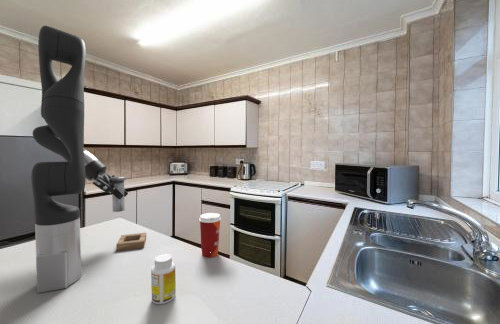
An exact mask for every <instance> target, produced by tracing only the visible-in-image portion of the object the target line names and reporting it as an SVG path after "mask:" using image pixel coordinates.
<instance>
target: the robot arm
mask: <svg viewBox="0 0 500 324" xmlns="http://www.w3.org/2000/svg"><path fill="white" fill-rule="evenodd" d="M38 33H39V34H38V41H37V43H38V44H37V45H38V67H39V76H40V83H41V105H40V107H41V108H40V115H41V118H42V119H43V120H44V121H45V123H46V125H41V126H37V127H36V128H34V129H33V131H32V137H33V139H34V140H35V142H36V143H37V144H39V145H40V146H41V147H43V148H45V149H47V150H49V151H51V152H53V153H55V154H57V155H59V156H61V157H62V159H64V160H65V161H41V162H36V163H35V164H34V165H33V167H32V168H31V174H30V175H31V178H30V180H31V188H32V189H31V190H32V198H33V208H34V209H33V210H34V211H33V213H34V227H35V228H34V229H35V232H34V233H35V236H34V237H35V238H34V239H35V269H36V293H37V294H40V293H44V292H45V293H46V292H50V291H51V292H52V291H56V290H57V291H58V290H62V289H66V288H68V287H69V286H70V285H72V284H74V283H77V282H78V280H79V279H80V278H81V277H82V250H81V249H82V248H81V246H82V245H81V243H82V242H81V210H80V208H79V207H78V206H76V205H71V204H67V203H63V202H59V201H56V200H55V199H53V197H57V196H67V195H68V196H69V195H71V196H72V195H79V194H81V193H83V192H84V190H85V186H86V182H87V181H86V180H88V181H89V182H90V181H91V182H92V181H93V182H92V185H94V186H95V187H97V188H98V189H100V190H101V191H103V192H104V193H106V194H108V193H109V194H113V195H114V196H115V197H116V198H118V199H121V198H122V197H123V196H124V198H125V197H127V196H128V195H129V192H128V191H127V190H126V189H124V195H123V194H122V193H121V192H120V191H119V190H118V189H116V188H115V186H114V185H113V182H112V181H110V178H111V177H116V176H115V175H114V174H112V175H111V174H109V173H107V172H106V171H107V168H108V167H107V166H106V165H105V164H104V163H103V162H101V160H100V159H98V158H97V157H96V156H95V155H94V154H92V153H91V152H90V151H88V150H87V149H86V148H85V146H84V135H85V134H84V132H85V128H84V126H85V94H84V93H85V90H84V88H85V87H84V85H85V84H84V82H85V81H84V78H85V69H86V68H85V67H86V65H85V64H86V54H87V49H86V44H85V41H84V40H83V39H82V38H81V37H79V36H77V35H75V34H74V35H73V34H72V33H69V32H66V31H63V30H61V29H58V28H54V27H52V26H49V25H43V26H41V28H40V30H39V32H38ZM53 61H56V62H59V63H63V64H66V65H70V66H71V67H70V69H69V71H68V72H67V73H66V74H65V75H64V76H63V77H62V78H60V79H59V78H58V77H57V74H56V73H55V69H54V66H53Z"/></svg>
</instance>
